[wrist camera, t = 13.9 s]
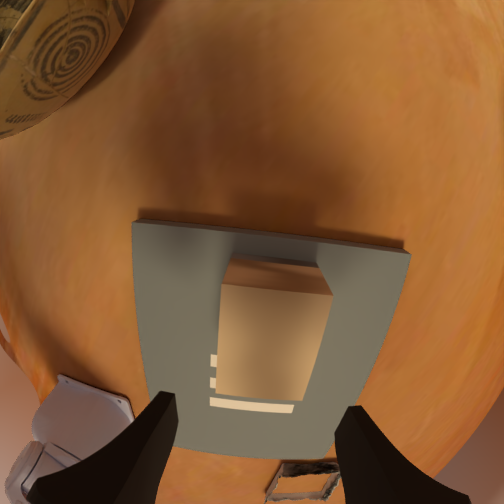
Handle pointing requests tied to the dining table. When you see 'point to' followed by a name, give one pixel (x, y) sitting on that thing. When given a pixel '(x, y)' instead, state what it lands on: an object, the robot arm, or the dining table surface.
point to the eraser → (270, 326)
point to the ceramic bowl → (51, 53)
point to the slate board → (207, 326)
